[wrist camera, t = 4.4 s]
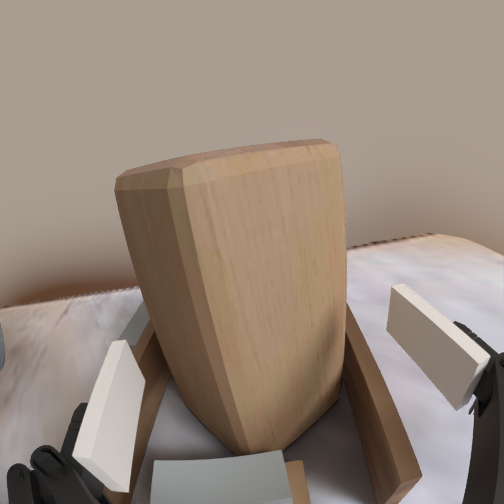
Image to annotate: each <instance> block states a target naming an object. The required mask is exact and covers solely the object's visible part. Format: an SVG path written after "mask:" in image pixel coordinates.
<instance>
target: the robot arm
mask: <svg viewBox="0 0 504 504" xmlns="http://www.w3.org/2000/svg"><path fill="white" fill-rule="evenodd" d="M386 330H387V331H388V333H389V334H390V335H391V336H392V337H393V338H394V339H395V340H396V341H397V342H398V344H399V345H400V346H401V347H402V348H403V349H404V350H405V351H406V353H407V354H408V355H409V356H410V357H411V358H412V359H413V360H414V362H415V363H416V364H417V365H418V366H419V367H420V368H421V370H422V371H423V372H424V373H425V374H426V375H427V377H428V378H429V379H430V380H431V381H432V382H433V384H434V385H435V386H436V387H437V388H438V389H439V391H440V392H441V393H442V394H443V395H444V397H445V398H446V399H447V400H448V401H449V403H450V404H451V405H452V406H453V408H454V409H455V410H456V411H457V410H458V409H460V408H461V407H463V406H464V405H466V404H467V403H468V402H469V400H470V399H471V397H472V395H473V394H474V395H475V396H476V397H477V398H476V399H475V401H474V403H473V405H472V407H471V408H470V410H469V413H468V414H471V413H472V411H473V409H474V414H473V415H474V428H473V441H472V451H471V459H470V466H469V473H468V479H467V484H466V489H465V494H464V499H463V503H462V504H504V352H503V353H500V354H498V353H497V352H496V351H494V350H493V349H492V348H491V347H490V346H489V345H488V344H486V343H485V342H484V341H483V340H482V339H481V338H479V337H477V335H476V334H475V333H472V331H471V330H470V329H469V328H467V327H466V326H465V325H463V324H461V323H458V322H456V321H455V322H453V323H452V322H451V321H450V320H449V319H447V318H446V317H445V316H444V315H443V314H441V313H440V312H439V311H438V310H436V309H435V308H434V307H433V306H431V305H430V304H429V303H428V302H426V301H425V300H424V299H423V298H421V297H420V296H419V295H418V294H416V293H415V292H414V291H412V290H411V289H410V288H409V287H407V286H406V285H405V284H403V283H402V284H399V285H395V286H392V287H391V296H390V306H389V314H388V322H387V329H386ZM4 362H5V346H4V339H3V334H2V329H1V324H0V372H1V370H2V368H3V365H4ZM144 386H145V379H144V377H143V375H142V373H141V371H140V369H139V367H138V365H137V363H136V360H135V358H134V356H133V354H132V352H131V350H130V347H129V345H128V343H127V341H126V340H118V341H112V343H111V345H110V348H109V350H108V353H107V355H106V357H105V360H104V363H103V365H102V368H101V370H100V373H99V376H98V378H97V381H96V384H95V386H94V389H93V392H92V395H91V397H90V400H89V403H81V404H80V405H79V406H78V407H77V409H76V410H75V411H74V413H73V416H72V419H71V423H70V425H69V428H68V429H69V430H67V433H66V436H65V439H64V443H63V446H62V449H61V452H60V453H59V452H58V451H57V450H56V449H55V448H54V447H52V446H50V445H43V446H40V447H38V448H37V449H36V450H35V451H34V452H33V454H32V455H31V459H30V463H31V467H33V468H34V469H35V470H30V469H29V468H27V467H26V466H25V465H23V464H21V463H17V464H14V465H12V466H11V467H10V468H9V470H8V473H7V488H8V498H9V504H113V503H112V502H111V500H110V499H109V498H108V496H107V495H106V494H105V493H104V492H103V489H104V485H105V486H106V487H107V488H109V489H110V490H111V491H118V492H129V485H130V476H131V467H132V459H133V452H134V445H135V438H136V431H137V425H138V419H139V413H140V407H141V402H142V396H143V391H144Z"/></svg>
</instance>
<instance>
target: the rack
mask: <svg viewBox="0 0 504 504" xmlns="http://www.w3.org/2000/svg"><path fill="white" fill-rule="evenodd" d="M132 354H133V356H134V358H135V360H136V363H137V365H138V367H139V369H140V371H141V373H142V375H143V377H144V379H145V386H144V391H143V396H142V402H141V407H140V413H139V419H138V425H137V431H136V438H135V445H134V452H133V459H132V467H131V476H130V485H129V492H118V491H111V490H110V489H109V488H107V487H106V486H105V485H104V489H103V492H104V493H105V494H106V495H107V496H108V498H109V499H110V500H111V502H112V503H113V504H130V502H131V499H132V495H133V492H134V488H135V485H136V481H137V478H138V474H139V471H140V467H141V464H142V461H143V457H144V454H145V451H146V448H147V444H148V441H149V438H150V435H151V432H152V428H153V425H154V422H155V419H156V416H157V413H158V410H159V407H160V404H161V401H162V398H163V395H164V392H165V389H166V386H167V383H168V380H169V377H170V374H171V371H170V368H169V366H168V363H167V361H166V358H165V356H164V354H163V351H162V348H161V346H160V343H159V341H158V338H157V336H156V333H155V330H154V327H153V325H152V322H151V319H150V320H149V321H148V323H147V325H146V327H145V329H144V330H143V332H142V334H141V336H140V338H139V340H138V341H137V343H136V345H135V347H134V349H133V351H132ZM342 377H343V381H344V384H345V387H346V390H347V394H348V397H349V400H350V404H351V407H352V410H353V414H354V417H355V421H356V424H357V428H358V431H359V435H360V439H361V442H362V446H363V450H364V453H365V457H366V461H367V465H368V469H369V473H370V477H371V481H372V485H373V489H374V493H375V497H376V502H377V504H398V503H399V502H400V501H401V500H402V499H403V498H404V497H405V496H406V494H407V493H408V492H409V491H410V490H411V489H412V488H413V487H414V485H415V484H416V483H417V482H418V481H419V480H420V478H421V477H422V473H421V470H420V467H419V465H418V462H417V459H416V456H415V454H414V451H413V449H412V446H411V443H410V441H409V438H408V436H407V433H406V431H405V428H404V426H403V423H402V421H401V418H400V416H399V414H398V411H397V409H396V406H395V404H394V402H393V399H392V397H391V395H390V393H389V390H388V388H387V386H386V383H385V381H384V379H383V377H382V375H381V372H380V370H379V368H378V366H377V364H376V361H375V359H374V357H373V355H372V353H371V351H370V349H369V347H368V344H367V342H366V340H365V338H364V336H363V334H362V332H361V330H360V328H359V326H358V324H357V322H356V320H355V318H354V316H353V314H352V312H351V310H350V308H349V306H348V304H347V302H346V327H345V347H344V361H343V374H342Z"/></svg>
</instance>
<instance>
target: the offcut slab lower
mask: <svg viewBox="0 0 504 504" xmlns="http://www.w3.org/2000/svg"><path fill="white" fill-rule="evenodd" d="M285 467H286V471H287V476H288V480H289V484H290V489H291V493H292V498H293V504H310V499H309V493H308V488H307V482H306V477H305V471H304V466H303V461H302V460H297V461H291V462H285Z"/></svg>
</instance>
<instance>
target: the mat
mask: <svg viewBox="0 0 504 504" xmlns="http://www.w3.org/2000/svg"><path fill="white" fill-rule="evenodd" d="M149 320H150V316H149V313H148V311H147V308H146V305H145V302H144V301H143V302H142V304H141V305H140V307H139V309H138V310H137V312H136V313H135V315H134V316H133V318H132V319H131V321H130V322H129V324H128V325H127V327H126V329H125V330H124V332H123V333H122V335H121V336H120V338H119V340H126V341H127V343H128V345H129V347H130V349H134V347H135V345H136V343H137V341H138V340H139V338H140V336H141V334H142V332H143V330H144V329H145V327H146V325H147V323H148V321H149Z"/></svg>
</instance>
